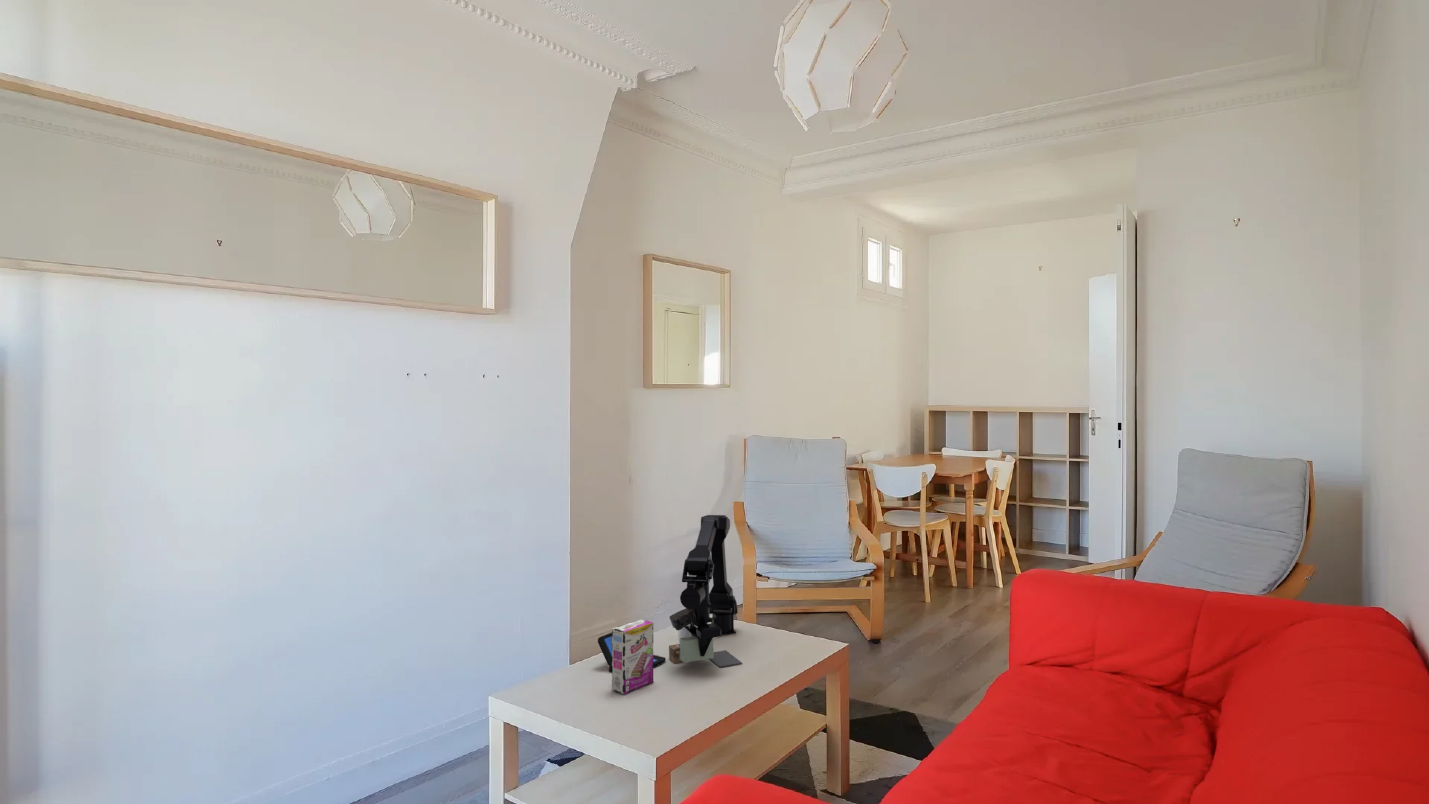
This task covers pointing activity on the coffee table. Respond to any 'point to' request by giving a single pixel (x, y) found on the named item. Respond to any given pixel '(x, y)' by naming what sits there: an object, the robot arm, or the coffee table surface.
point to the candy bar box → (632, 656)
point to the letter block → (674, 653)
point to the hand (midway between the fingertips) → (700, 654)
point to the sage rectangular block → (693, 650)
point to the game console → (606, 648)
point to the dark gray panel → (724, 659)
